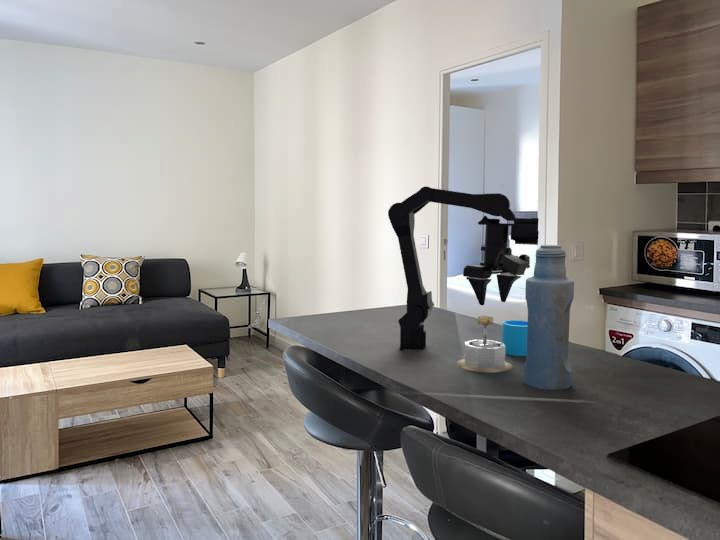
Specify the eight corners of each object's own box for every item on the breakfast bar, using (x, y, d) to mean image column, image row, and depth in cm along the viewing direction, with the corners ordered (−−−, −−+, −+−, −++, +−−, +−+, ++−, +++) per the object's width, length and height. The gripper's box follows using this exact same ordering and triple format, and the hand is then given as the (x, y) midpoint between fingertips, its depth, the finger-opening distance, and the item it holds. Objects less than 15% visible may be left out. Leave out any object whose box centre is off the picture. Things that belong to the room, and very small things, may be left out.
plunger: (472, 349, 131) (473, 319, 131) (471, 344, 137) (471, 314, 137) (498, 350, 131) (499, 319, 130) (496, 344, 137) (497, 315, 136)
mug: (539, 357, 144) (541, 325, 143) (510, 358, 142) (511, 326, 142) (517, 346, 156) (518, 317, 155) (489, 347, 154) (490, 318, 153)
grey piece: (465, 369, 131) (466, 347, 130) (463, 355, 143) (463, 336, 142) (506, 370, 129) (506, 349, 129) (500, 357, 141) (501, 337, 141)
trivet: (457, 373, 129) (457, 370, 129) (455, 358, 142) (455, 356, 142) (515, 375, 127) (515, 373, 127) (508, 360, 140) (508, 358, 140)
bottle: (565, 395, 113) (571, 247, 110) (516, 387, 119) (521, 245, 116) (575, 383, 121) (581, 244, 118) (529, 376, 127) (533, 243, 124)
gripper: (501, 246, 131) (497, 311, 133) (544, 244, 144) (540, 304, 145) (463, 243, 140) (460, 305, 141) (507, 241, 152) (503, 298, 154)
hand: (492, 303), depth 145 cm, fingers open, 9 cm apart
